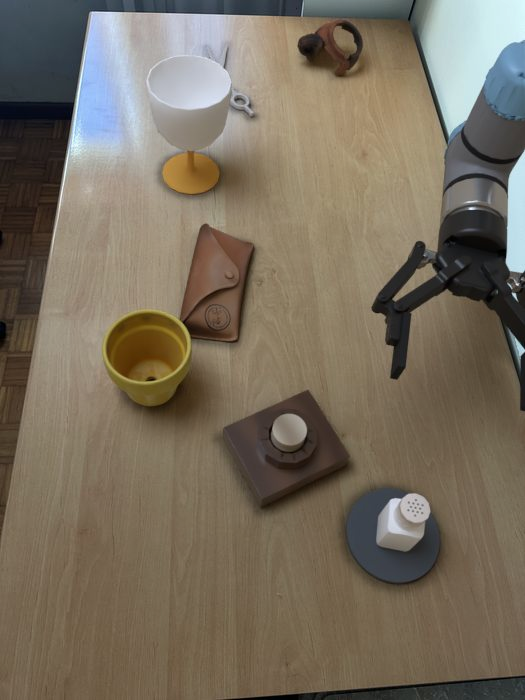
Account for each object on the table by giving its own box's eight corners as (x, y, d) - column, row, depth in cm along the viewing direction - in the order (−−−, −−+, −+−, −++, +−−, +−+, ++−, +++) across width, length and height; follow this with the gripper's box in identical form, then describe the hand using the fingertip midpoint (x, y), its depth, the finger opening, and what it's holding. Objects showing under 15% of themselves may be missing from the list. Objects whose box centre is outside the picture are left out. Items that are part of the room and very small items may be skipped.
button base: (305, 399, 86) (310, 381, 82) (345, 465, 82) (353, 449, 77) (222, 437, 82) (223, 420, 78) (259, 508, 78) (263, 494, 74)
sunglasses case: (241, 342, 89) (216, 314, 84) (196, 350, 92) (170, 324, 87) (255, 240, 98) (234, 210, 94) (214, 250, 101) (192, 222, 97)
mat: (439, 498, 80) (440, 496, 80) (437, 591, 75) (439, 590, 74) (349, 482, 81) (350, 480, 80) (341, 574, 75) (342, 573, 74)
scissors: (190, 113, 111) (187, 38, 121) (191, 116, 112) (187, 42, 122) (253, 113, 113) (245, 40, 123) (253, 117, 113) (245, 43, 123)
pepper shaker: (408, 553, 76) (433, 530, 68) (374, 547, 76) (395, 522, 68) (410, 520, 78) (435, 493, 70) (377, 513, 78) (397, 485, 70)
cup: (212, 210, 102) (214, 119, 87) (141, 187, 103) (131, 95, 88) (238, 160, 108) (244, 67, 93) (171, 139, 109) (166, 45, 94)
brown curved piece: (333, 40, 127) (359, 14, 120) (346, 87, 127) (373, 63, 120) (281, 37, 121) (305, 10, 114) (294, 86, 121) (319, 62, 114)
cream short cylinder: (294, 415, 80) (296, 408, 78) (310, 443, 78) (313, 436, 76) (264, 429, 78) (266, 421, 77) (281, 457, 77) (283, 451, 75)
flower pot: (196, 415, 84) (196, 378, 75) (113, 425, 82) (103, 388, 74) (188, 346, 89) (186, 304, 80) (109, 354, 87) (99, 311, 79)
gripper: (560, 274, 80) (565, 433, 69) (359, 223, 80) (333, 376, 69) (595, 234, 73) (607, 403, 63) (377, 179, 73) (351, 340, 62)
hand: (463, 389), depth 66 cm, fingers open, 13 cm apart
